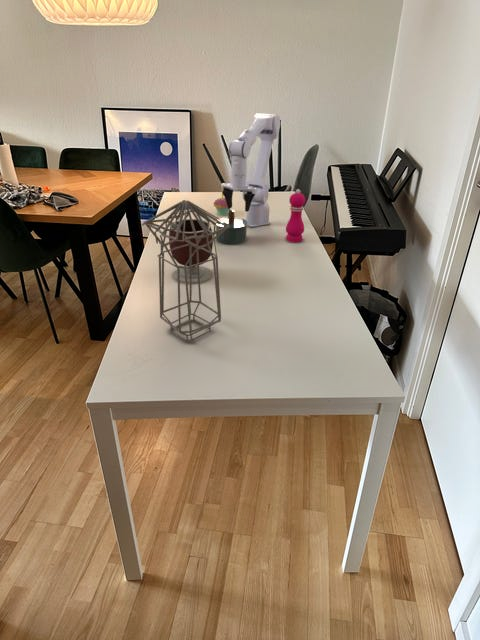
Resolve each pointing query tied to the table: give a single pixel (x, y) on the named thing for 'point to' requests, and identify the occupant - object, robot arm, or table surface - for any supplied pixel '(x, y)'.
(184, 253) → the mate gourd
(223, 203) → the cupcake
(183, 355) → the table surface
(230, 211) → the pot lid
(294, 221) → the pepper mill
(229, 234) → the pot
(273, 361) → the table surface
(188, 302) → the geometric lantern
